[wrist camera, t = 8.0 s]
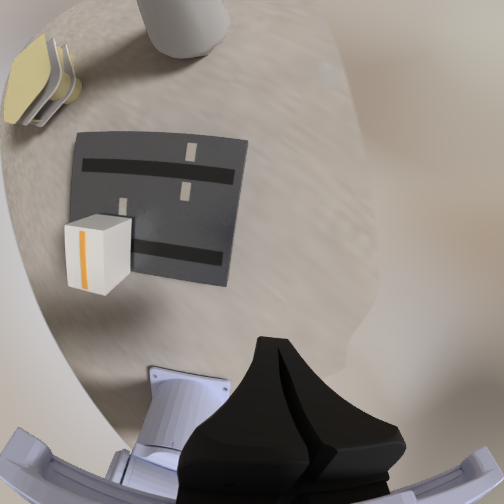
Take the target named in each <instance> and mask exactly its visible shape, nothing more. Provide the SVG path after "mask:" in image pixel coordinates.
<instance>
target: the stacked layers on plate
mask: <svg viewBox="0 0 504 504" xmlns="http://www.w3.org/2000/svg"><path fill="white" fill-rule="evenodd" d="M81 90H82V82H81V80H80V79H78V78H76V76H75V69H74V60H73V54H71V53H69V52H68V48H67V46H66V45H63V46H62V47H61V48H60V47H58V46H56V43H55V39H54V38H51V39H50V40H49V41H47V42H46V40H45V34H42V35H41V36H40V37H39V38H37V39H36V40H35V41H34V42H33V43H32V44H30V45H29V46H28V47H27V48H26V49H25V50H24V51H23V52H22V53H20V54H19V55H18V56H17V57H16V58H15V59H14V60H13V64H12V68H11V72H10V76H9V81H8V86H7V91H6V97H5V103H4V121H5V122H7V123H11V124H15V123H18V124H21V125H28V124H30V125H34V126H38V127H42V126H44V125H45V123H46V122H47V121H48V120H49V119H50V118H51V116H52V115H53V114H54V113H55V112H56V111H57V110H58V109H59V107H60V106H61V105H62V104H71V103H73V102H74V101H75V100H76V99H77V98H78V97H79V95H80V93H81Z"/></svg>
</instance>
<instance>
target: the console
mask: <svg viewBox="0 0 504 504" xmlns="http://www.w3.org/2000/svg"><path fill="white" fill-rule="evenodd" d="M247 148H248V141H247V140H240V139H232V138H224V137H215V136H206V135H195V134H182V133H165V132H135V131H110V132H81V133H77V137H76V144H75V151H74V159H73V169H72V181H71V199H70V223H71V222H74V221H77V220H80V219H83V218H86V217H89V216H92V215H95V214H100V215H108V216H116V217H124V218H132V223H131V249H130V271H134V272H139V273H144V274H150V275H155V276H161V277H167V278H173V279H179V280H185V281H191V282H197V283H203V284H209V285H216V286H222V287H226V286H227V281H228V276H229V269H230V261H231V254H232V247H233V240H234V233H235V226H236V219H237V212H238V206H239V199H240V192H241V186H242V179H243V173H244V167H245V160H246V154H247Z"/></svg>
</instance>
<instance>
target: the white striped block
mask: <svg viewBox="0 0 504 504" xmlns="http://www.w3.org/2000/svg"><path fill="white" fill-rule="evenodd" d="M131 223H132V218H124V217H116V216H108V215H100V214H95V215H92V216H89V217H86V218H83V219H80V220H77V221H74V222H71V223H69V224H66V225H65V254H66V268H67V279H68V286H69V287H73V288H77V289H81V290H84V291H88V292H92V293H96V294H100V295H104V296H106V295H107V294H108V293H109V292H110V291H111V290H112V289H113V288H114V287H115V286H116V285H118V284H119V283H120V282H121V281H122V280H123V279H124V278H125V277H126V276H127V275H128V274H130V249H131Z"/></svg>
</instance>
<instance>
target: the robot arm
mask: <svg viewBox="0 0 504 504" xmlns="http://www.w3.org/2000/svg"><path fill="white" fill-rule="evenodd" d="M149 372H150V382H151V392H152V402H151V404H150V407H149V409H148V412H147V415H146V417H145V420H144V423H143V425H142V428H141V431H140V434H139V436H138V439H137V442H136V444H135V446H134V448H133V450H132V453H131V455H130V451H128V450H126V449H123V450H122V451H121V450H120V451H117V452H116V453H115V454H114V457H113V459H112V462H111V464H110V466H109V469H108V472H107V474H106V477H105V478H102V477H99V476H97V475H95V474H92V473H90V472H87V471H85V470H83V469H81V468H78V467H76V466H74V465H72V464H70V463H68V462H66V461H64V460H62V459H60V458H58V457H57V456H54V455H53V454H52V452H51V450H50V449H49V447H48V446H47V445H46V444H44V443H43V442H42V441H41V440H39V439H38V438H36V437H35V436H33V435H31V434H29V433H28V432H26V431H25V430H23V429H22V428H20V427H18V428H17V430H16V431H15V432H14V434H13V435H12V437H11V439H10V440H9V442H8V443H7V445H6V446H5V448H4V449H3V451H2V452H1V454H0V479H2V480H3V481H4V482H5V483H6V484H7V485H8V486H9V487H11V488H12V489H13V490H14V491H15V492H17V493H18V494H19V495H20V496H21V497H23V498H24V499H25V500H27V501H28V502H30V503H31V504H473V503H475V502H476V501H478V500H479V499H480V498H481V497H483V496H484V495H485V494H487V493H488V492H489V491H490V490H492V489H493V488H494V487H495V486H496V485H497V484H499V483H500V482H501V481H502V480H503V479H504V475H503V473H502V471H501V470H500V468H499V467H498V465H497V463H496V461H495V460H494V458H493V457H492V455H491V453H490V452H489V450H488V449H487V447H486V446H484V447H482V448H480V449H479V450H477V451H475V452H473V453H472V454H470V455H469V456H468V457H466V458H465V459H464V460H463V461H462V462H461V464H460V465H458V466H456V467H454V468H452V469H450V470H447V471H445V472H443V473H440V474H438V475H436V476H433V477H431V478H429V479H426V480H423V481H421V482H418V483H415V484H412V485H409V486H406V487H403V488H400V489H397V490H394V491H389V488H388V485H387V483H386V481H388V480H389V474H388V470H389V469H390V468H391V467H392V466H393V465H394V464H395V463H396V462H397V461H398V460H399V459H400V458H401V456H402V455H403V454H404V452H405V450H406V443H405V441H404V439H403V437H402V435H401V433H400V431H399V429H398V427H397V426H394V425H392V424H389V423H387V422H384V421H382V420H379V419H377V418H375V417H373V416H371V415H369V414H367V413H365V412H363V411H362V410H360V409H358V408H356V407H355V406H353V405H352V404H350V403H349V402H347V401H346V400H344V399H343V398H342V397H340V396H339V395H338V394H336V393H335V392H334V391H333V390H332V389H331V388H329V387H328V386H327V385H326V384H325V383H324V382H323V381H322V380H321V379H320V378H319V377H318V376H317V375H316V374H315V373H314V372H313V370H312V369H311V368H310V367H309V366H308V365H307V363H306V362H305V361H304V360H303V358H302V357H301V356H300V354H299V353H298V352H297V350H296V349H295V348H294V346H293V345H292V344H291V342H290V341H289V340H288V339H282V338H272V337H263V336H260V337H258V338H257V343H256V348H255V352H254V357H253V361H252V363H251V365H250V367H249V369H248V371H247V373H246V375H245V376H244V378H243V380H242V381H241V383H240V384H239V386H238V387H237V388H236V390H235V391H234V392H233V394H232V395H231V396H230V397H229V394H230V387H231V382H230V381H228V380H223V379H216V378H210V377H203V376H198V375H192V374H186V373H181V372H176V371H171V370H167V369H162V368H158V367H151V368H150V371H149ZM155 375H156V376H155ZM224 387H225V388H224Z"/></svg>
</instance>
